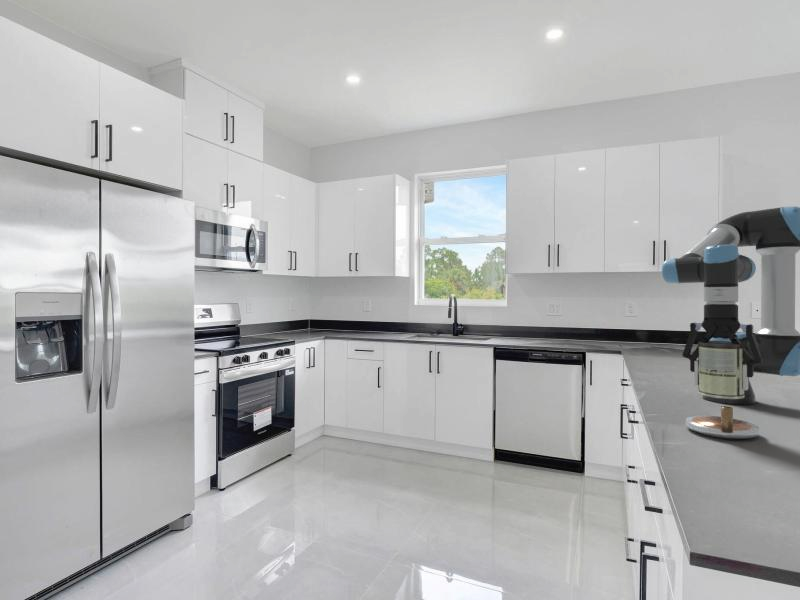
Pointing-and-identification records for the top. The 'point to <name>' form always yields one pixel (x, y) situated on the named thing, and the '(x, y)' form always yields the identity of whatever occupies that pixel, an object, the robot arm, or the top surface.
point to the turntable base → (724, 437)
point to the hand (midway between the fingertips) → (720, 386)
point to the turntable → (723, 425)
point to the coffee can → (720, 369)
